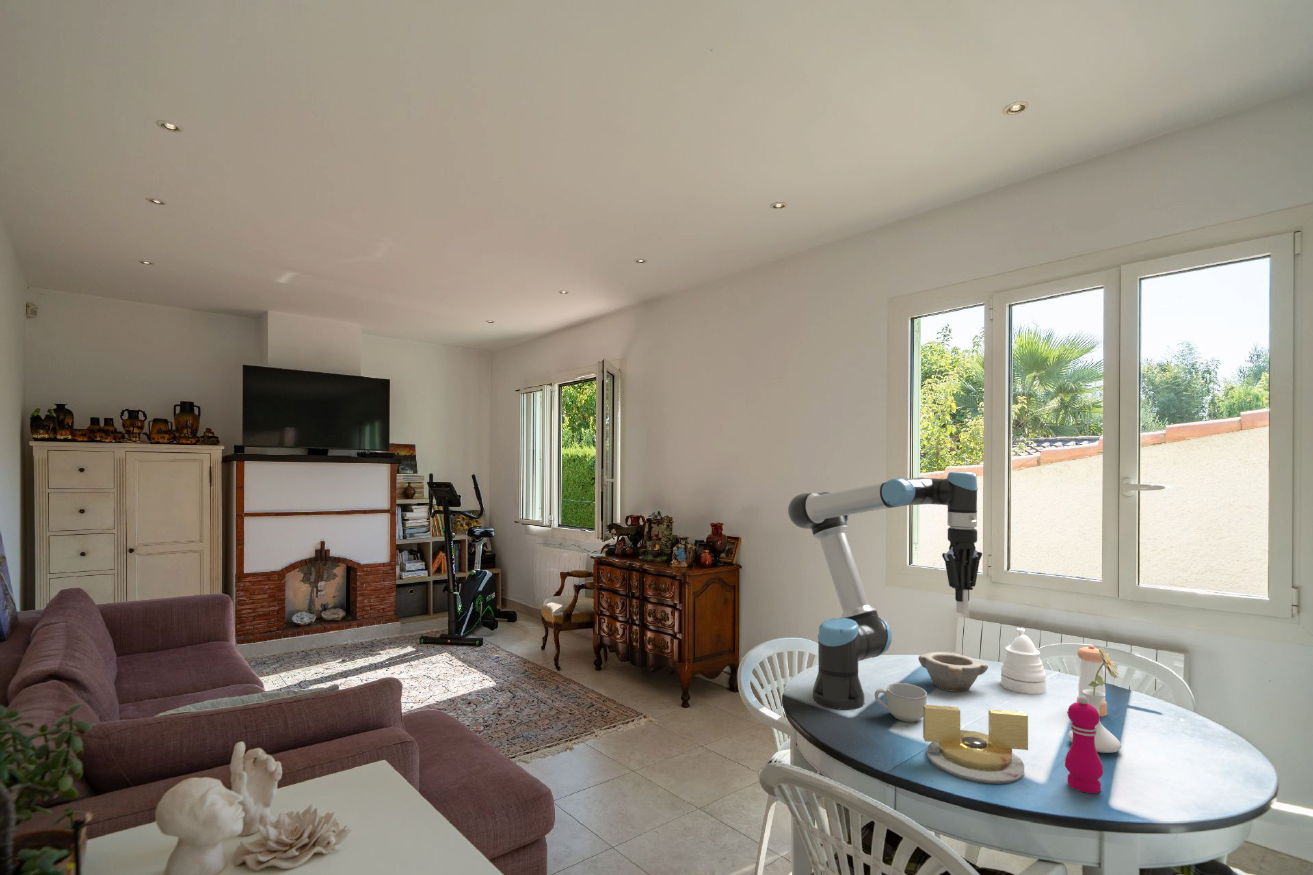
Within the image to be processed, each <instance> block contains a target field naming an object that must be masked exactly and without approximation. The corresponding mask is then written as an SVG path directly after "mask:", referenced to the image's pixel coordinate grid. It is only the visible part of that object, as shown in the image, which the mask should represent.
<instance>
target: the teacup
mask: <svg viewBox="0 0 1313 875" xmlns="http://www.w3.org/2000/svg"><path fill="white" fill-rule="evenodd" d="M881 693H883V694H884V696H885V698H886V702H884V701H882V700H881V699H880V698H879V694H881ZM927 696H928V692H927V691H926V690H925V689H924V688H922V687H920V686H917V685H914V684H911V683H905V682H896V683H895V682H894V683H890V684H888V685H887V686H886V689H884V688H878V689H876V690H875V692H874V699H875V701H876V702H877V704H879V705H880V706H882V707H883V708H884V709H885V710H886V711H888V712H889V713H890V715H892V716H893V717H894V718H895V719H897V720H899V721H902V722H907V723H908V722H909V723H914V722H918V721H919V720H920V719H923V705H927Z"/></svg>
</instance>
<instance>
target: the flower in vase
mask: <svg viewBox="0 0 1313 875" xmlns="http://www.w3.org/2000/svg"><path fill="white" fill-rule="evenodd" d="M1098 649H1099V654H1100V657H1101V660H1102V662H1103V663H1102V665H1101V666H1100V668H1099V669H1098V671H1097V673H1096V677H1095V682H1094V681H1092V682H1091V683H1090V684H1088V685H1089V686H1092V687H1094V690H1083V691H1082V692H1083V693H1084V695H1085V696H1086V698H1087V699H1088V704H1090V705H1091V706H1093V707H1094V708H1095V709H1096V710H1097V711H1098V713H1099V709H1100V704H1101V701H1102V699H1103V698H1104V697H1105V698H1106V693H1105V694H1104V693H1102V692H1100V691H1096V690H1095V687H1096V686H1099V685H1101V686H1102V685H1103V684H1104V685H1105V680H1104V681H1103V679H1104V678H1103V679H1102V677H1101V676H1099V675H1098V673H1099V671H1100V669H1101V668H1102V666H1103V667H1104V668H1105V669H1106V670H1107V672H1108V673H1109V675H1110V676H1111V677H1113V678H1114V679H1119V676H1118V675H1119V674H1120V673H1119V671H1117V669H1116V663H1115V662H1113V661H1112V659H1111V655H1110V654H1109V653H1108V652H1107V653H1106V651H1105V649H1104V647H1098ZM1096 680H1097V682H1098V683H1099V684H1097V683H1096ZM1095 727H1096V728H1097V730H1096V732H1097V735H1095V739H1094V741H1095V748H1096V751H1097V753H1102V754H1103V753H1104V754H1105V753H1106V754H1107V753H1108V754H1109V753H1111V754H1112V753H1115V752H1119V751H1120V750H1121V749H1122V745H1121V742H1120V740H1119V739H1118V738H1117V737H1116V736H1115V735H1114V734H1112V733H1111V731H1109V730H1108V729H1107V728H1106V727H1104V725H1103V724H1102V723H1101V720H1100V718H1099V723H1098V724H1097V725H1096V726H1095ZM1067 738H1068V739H1069V741H1070V742H1071V743H1072V741H1073V731H1072V730H1071V729H1070V731H1069V733H1067Z"/></svg>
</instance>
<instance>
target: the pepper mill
mask: <svg viewBox="0 0 1313 875" xmlns="http://www.w3.org/2000/svg"><path fill="white" fill-rule="evenodd" d="M1087 703H1088V699H1087V698H1086V697H1084V696H1081V697H1079V702H1077V701H1076V702H1074V703H1072V704H1070V705H1069V707H1068V709H1067V716H1068V719H1069V720H1070V721H1071V723H1070V731H1071V730H1072V731H1073V741H1072V742H1071V745H1070V748H1069V749H1068V751H1067V753H1066V756H1065V758H1064V765H1065V768H1066V770H1067V772H1069V773H1068V774H1067V785H1069V787H1070V788H1072V789H1074V790H1076V791H1078V790H1079V792H1081V793H1085V792H1088V793H1087V794H1098V793H1100V792H1101V790H1102V789H1101V781H1100V780H1099V779H1101V778H1102V777H1103V775H1104V768H1103V763H1102V760H1101V758H1100V756H1099V754H1098V752H1097V751H1096V748H1095V741H1094V739H1095V735H1097V732H1096V730H1097V728H1096V727H1095V726H1096V725H1097V724H1098V723H1099V719H1100V716H1099V713H1098V711H1097V710H1096V709H1095V708H1094V707H1093V706H1091V705H1090V704H1087Z"/></svg>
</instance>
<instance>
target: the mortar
mask: <svg viewBox="0 0 1313 875" xmlns="http://www.w3.org/2000/svg"><path fill="white" fill-rule="evenodd" d="M917 659H918V662H919V664H920V665H921V667H923V668H925V670H926V672H927V673H928V676H929V677H930V679H931V681H932V683H933V684H934V685H935V686H936V687H938V688H939V689H942V690H945V691H949V692H950V691H951V692H965V691H968V690H970V688H972V686H973V685H974V683H975V682H976V680H977V679H978V676H980V675H981V676H982V675H983V674H985V673H986V671H987V670H988V668H989V666H988V664H987V663H986V662H983V661H980V660H977V659H975V658H973V657H971V656H968V655H963V654H959V653H956V652H953V651H934V652H932V651H931V652H926V653H922V654H920V655H919V656H918V658H917Z"/></svg>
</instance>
